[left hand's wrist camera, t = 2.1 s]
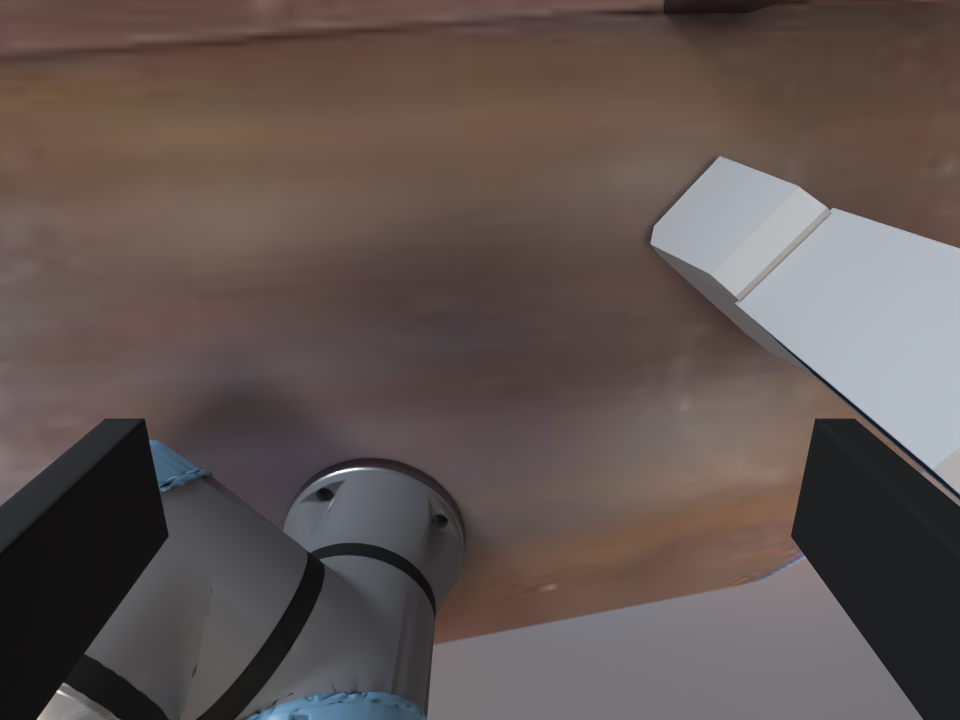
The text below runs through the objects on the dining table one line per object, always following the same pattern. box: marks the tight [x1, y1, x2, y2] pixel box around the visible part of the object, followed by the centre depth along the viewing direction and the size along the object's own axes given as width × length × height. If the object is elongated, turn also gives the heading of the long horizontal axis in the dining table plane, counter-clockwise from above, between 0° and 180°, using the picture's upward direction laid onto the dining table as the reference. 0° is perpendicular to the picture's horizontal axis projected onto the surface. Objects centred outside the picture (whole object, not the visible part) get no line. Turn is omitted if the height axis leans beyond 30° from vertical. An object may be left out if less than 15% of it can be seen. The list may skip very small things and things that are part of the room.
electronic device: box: [651, 156, 960, 501], centre depth 33 cm, size 12×8×30 cm, turn 50°
